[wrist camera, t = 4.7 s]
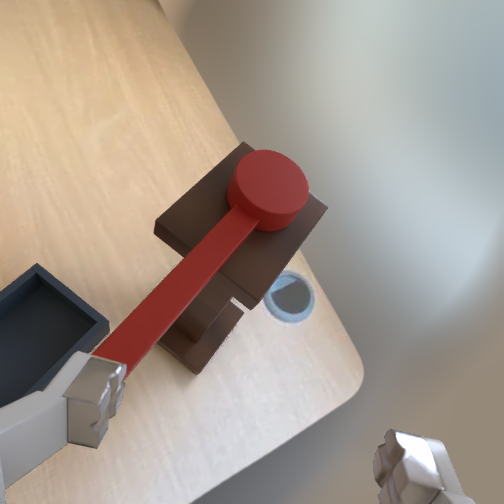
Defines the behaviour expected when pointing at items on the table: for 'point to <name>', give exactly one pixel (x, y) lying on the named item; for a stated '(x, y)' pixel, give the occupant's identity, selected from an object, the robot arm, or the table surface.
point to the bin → (41, 332)
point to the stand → (233, 271)
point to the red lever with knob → (213, 250)
